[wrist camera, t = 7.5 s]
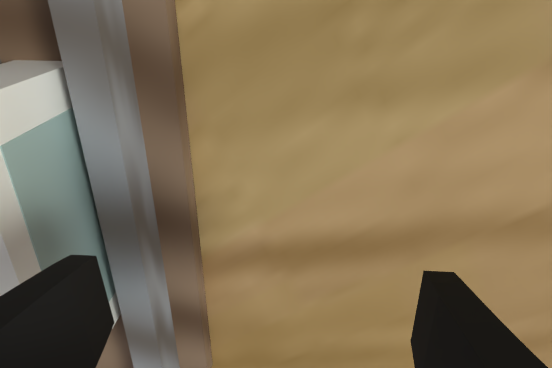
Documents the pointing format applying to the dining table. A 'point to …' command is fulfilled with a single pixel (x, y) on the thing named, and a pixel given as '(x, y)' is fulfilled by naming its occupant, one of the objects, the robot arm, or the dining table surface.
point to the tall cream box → (44, 178)
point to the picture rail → (130, 163)
